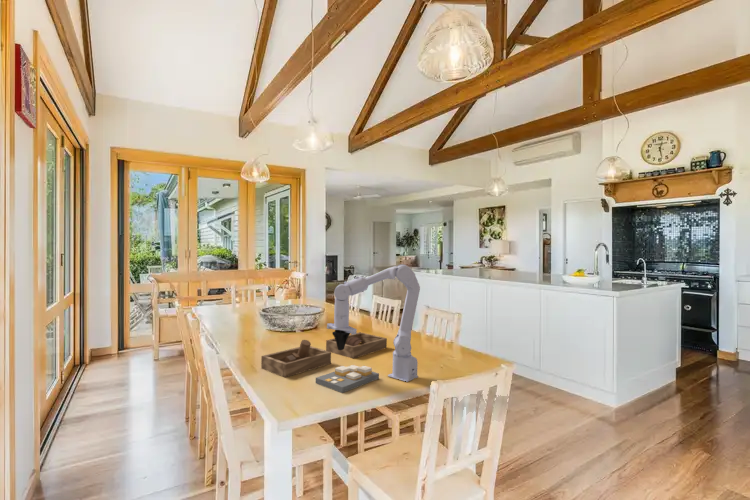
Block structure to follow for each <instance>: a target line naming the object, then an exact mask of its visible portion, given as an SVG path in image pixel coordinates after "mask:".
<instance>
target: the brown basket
mask: <svg viewBox="0 0 750 500" xmlns="http://www.w3.org/2000/svg"><path fill="white" fill-rule="evenodd" d="M379 337H380V336H379ZM379 337H351V338H350V339H349V340H348V341H347V345H350V346H356V345H360V344H361V343H360V342H362V341H363V340H360V339H359V338H379ZM364 342H365V341H364Z"/></svg>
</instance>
